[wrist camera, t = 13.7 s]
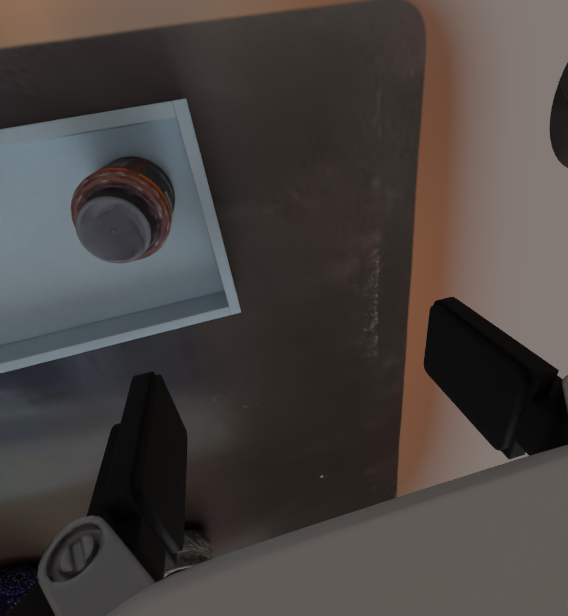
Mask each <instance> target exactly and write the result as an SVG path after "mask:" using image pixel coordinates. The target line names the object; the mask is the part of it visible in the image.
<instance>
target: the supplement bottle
mask: <svg viewBox="0 0 568 616" xmlns="http://www.w3.org/2000/svg"><path fill="white" fill-rule="evenodd" d="M174 206H175V193H174V189H173V186H172V183H171V181H170V179H169V178H168V176H167V174H166V173H165V172H164V171H163V170H162V169H161V168H160V167H159V166H157V165H156V164H154V163H153V162H151V161H149V160H147V159H144V158H140V157H135V156H130V157H122V158H119V159H116V160H114V161H112V162H110V163H109V164H107V165H105V166H104V167H102V168H101V169H99V170H97V171H96V172H94V173H92V174H91V175H89V176H88V177H86V178H85V179H84V180H83V181H82V182H81V183H80V184H79V186H78V187H77V188H76V190H75V192H74V194H73V198H72V201H71V217H72V221H73V224H74V227H75V229H76V233H77V236H78V238H79V240H80V242H81V243H82V245H83V246H84V247H85V248H86V249H87V250H88V252H90V253H91V254H92V255H94V256H95V257H97V258H99V259H101V260H103V261H106V262H111V263H128V262H132V261H137V260H142V259H144V258H147V257H149V256H151V255H153V254H154V253H156V252H157V251H158V250H159V249H160V248H161V247H162V246H163V245H164V243H165V241H166V239H167V237H168V235H169V232H170V228H171V222H172V217H173V211H174Z"/></svg>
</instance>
